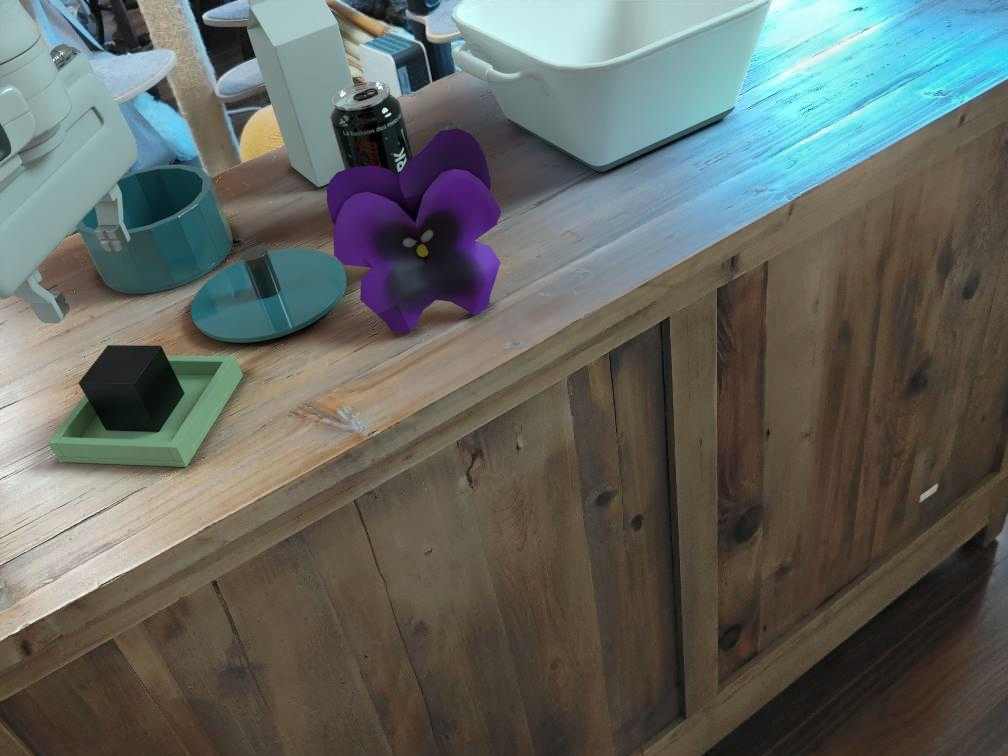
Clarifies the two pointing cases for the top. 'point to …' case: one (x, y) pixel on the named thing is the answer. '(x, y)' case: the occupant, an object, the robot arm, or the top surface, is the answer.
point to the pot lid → (268, 294)
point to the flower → (419, 230)
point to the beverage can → (370, 127)
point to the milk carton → (302, 78)
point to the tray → (179, 436)
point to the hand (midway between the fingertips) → (88, 280)
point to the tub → (610, 68)
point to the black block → (132, 388)
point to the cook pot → (162, 231)
